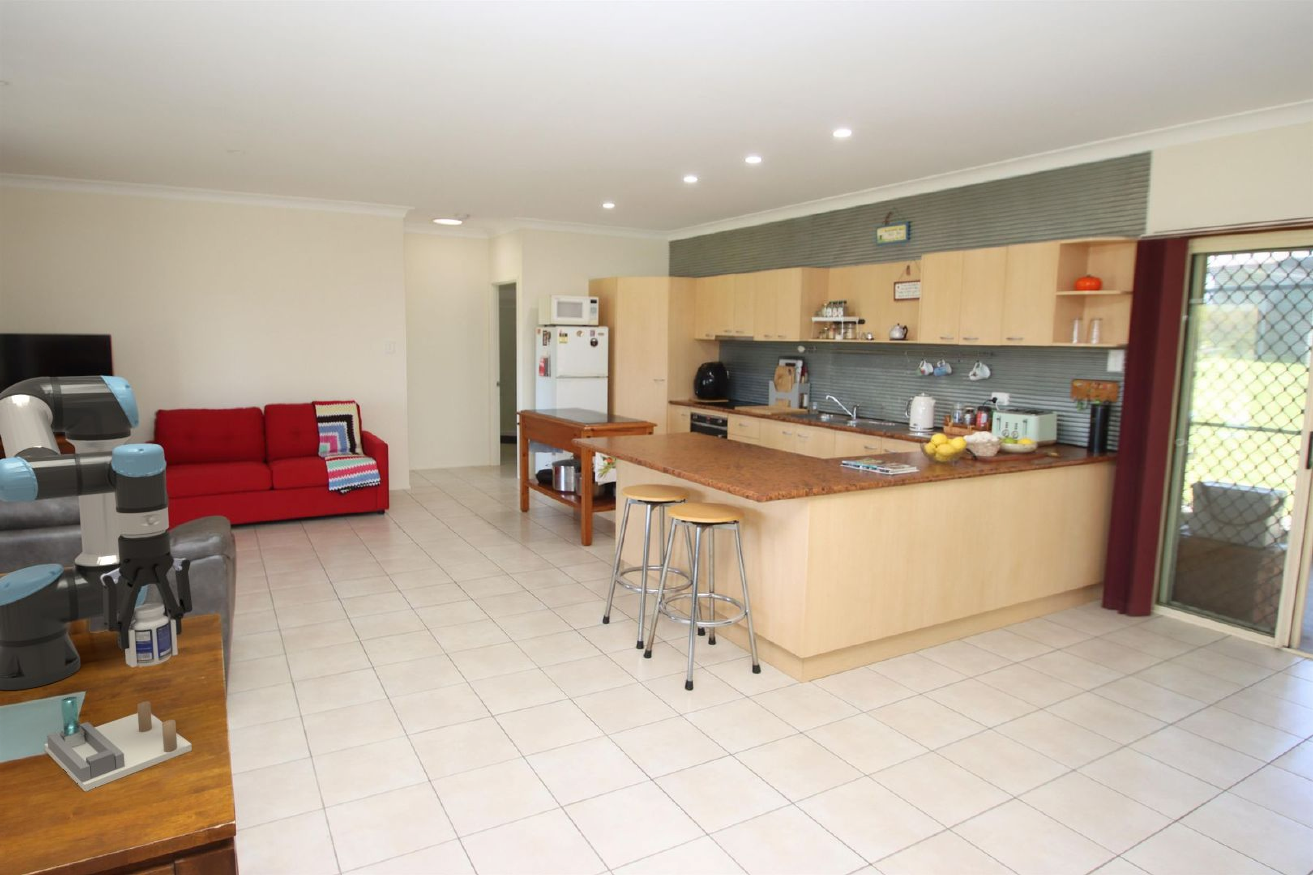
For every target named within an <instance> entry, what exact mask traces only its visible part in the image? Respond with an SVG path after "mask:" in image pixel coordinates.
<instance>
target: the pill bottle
mask: <svg viewBox="0 0 1313 875" xmlns="http://www.w3.org/2000/svg"><path fill="white" fill-rule="evenodd" d="M165 608H166V606H165V604H164V602H150V603H149V602H148V603H145V604H144V603H143V604H142V605H140V606H138V607H135V609H134V613H133V616H132V618H133V617H134V620H133V621H131V624H130V628H131V629H133V630H135V644H136V658H137V667H150V666H155V665H158V664H159V665H160V664H162V663H165V662H166V661H168V660H169V659H171V656H172V655H171V643H170V631H169V620H168V618H167V617H168V616H166V614H164V613H165V612H166V611H165Z"/></svg>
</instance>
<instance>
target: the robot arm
mask: <svg viewBox="0 0 1313 875" xmlns="http://www.w3.org/2000/svg"><path fill="white" fill-rule="evenodd" d="M139 426H140V415H139V409H138V404H137V401H136V398H135V394H134V391H133V389H132V387H131V385H130V383H129V381H128V380H127V379H126V378H124V377H121V376H111V375H84V376H83V375H82V376H80V375H79V376H39V377H32V378H28V379H24V380H22V381H19V382H16V383H14V384H13V385H10V386H9V387H7V388H5V389H4V390H3V391H1V393H0V437H1V442H2V446H3V449H4V454H5V455H4V456H5V458H2V459H0V501H2V502H4V503H18V502H24V503H29V502H36V501H43V500H51V499H61V498H68V497H69V498H70V497H78V504H79V505H78V506H79V519H80V521H79V522H80V533H81V547H82V548H81V549H82V551H81V553H80V554H79V555H78V556H77V557H75V558H74V567H73V568H68V569H64V567H63V565H62V564H59V563H47V564H46V563H45V564H36V565H32V566H28V567H25V568H21V569H18V570H15V571H12V572H9V573H8V574H5V575H4V576H2V577H0V690H3V691H15V690H17V691H18V690H26V689H31V688H32V689H33V688H37V687H41V686H45V685H49V684H54V683H56V682H58V681H61V680H64V679H66V678H68V677H70V676H71V675H73V674H76V672H78V671H79V670H80V668H81V656H80V654H79V653H78V650H77V649H76V647H75V645H74V643H73V641H72V640H71V637H70V636H69V633H68V632H69V631H68V623H73V622H80V621H84V620H89V619H94V618H99V617H103V628H104V629H106V630H108V631H109V632H111V633H113V632H117V644H118V647H119V648H120V649H121V650H123V651H124V650H125V651H124V653H125V663H126V664H125V665H128V666H130V667H131V668H135V667H138V665H137V658H136V644H135V630H133V629H131V628H130V625H131V623H132V620H133V613H134V609H135V607H138V606H140V605H144V602H145V601H146V598H147V593H148V592H147V591H148V586H149V585H155V586H156V588H157V591H158V592H159V594H160V595H159V596H160V597H161V599H162V601H163V604H164V607H165V608H166V610H167V614H169V616H167V618H168V620H169V631H170V643H171V656H177V655H179V654H178V638H177V637H178V636H179V635H181V634H182V631H183V629H182V626H183V625H182V619H183V618H184V615H185V614H187V613H191V612H192V611H193V601H192V595H191V594H192V593H191V585H190V577H189V570H190V567H191V561H190V560H189V559H187V558H185V557H179V558H174V556H173V555H172V553H171V538H170V537H171V535H170V532H169V531H168V528H170V525H169V524H170V522H169V509H168V507H169V506H168V493H167V476H166V474H167V472H166V471H167V470H166V467H167V460H165V451H164V448H163V447H162V446H161V445H160V444H156V443H131V444H125V443H126V442H127V441H128V440H129V439H130V438H132V432H131V431H132V430H131V429H133V430H134V429H136V428H138V427H139ZM53 432H54V433H57V432H59V433H61V432H63V433H64V435H65V440H66V442H68V443H70V444H72V446H74V449H75V453H64V454H61V451H60V448H59V445H58V442H57V440H56V437H55V435H54V433H53ZM172 567H173V569H174V571H175V581H176V588H177V590H176V591H177V597H178V602H177V599H176V598H175V595H174V594H173V591H172V589H171V586H170V582H169V580H168V576H167V574H168V572H169V571H170V569H171V568H172Z"/></svg>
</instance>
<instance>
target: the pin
mask: <svg viewBox="0 0 1313 875" xmlns="http://www.w3.org/2000/svg"><path fill="white" fill-rule="evenodd" d="M60 705H61V716H62V726H63V727H62V729H63V730H62V731H59V732H58V733H59V734H58V735H59V736H60V737H61V738H62V739H63V740H64V741H65V742H66V743H67V744H68V745H69V746H70V747H71V748H74V747H77V746H79V745H82V744H85V739H84V731H83V730H82V729H81V728H80V721H79V708H78V707H79V706H78V698H77V696H69V697H66V698H63V699H61V701H60Z"/></svg>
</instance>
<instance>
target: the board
mask: <svg viewBox="0 0 1313 875" xmlns="http://www.w3.org/2000/svg"><path fill="white" fill-rule="evenodd" d="M136 706H137V713H133V714H130V715H128V716H124V717H122V718H119V719H115V720H113V721H110V722H106V723H104V724H100V725H98V726H95V727H94V726H93V724H91V723H90V722H88V721H85V722H83V723H79V727H80V728H81V729H82V730H83V731H84V739H85V744H82V745H79V746H77V747H74V748H71V747H70V746H69V745H68V744H67V743H66V742H65V741H64V740H63V739H62V738H61V737H60V734H58V733H57V732H52V733H50V734H46V737H47V742H46V743H44V751H45V752H46V753H47V754H48V755H49V756H50V757H51V758H52V759H53V760H54V761H55V762H56V764H57V765H59V767H60V768H61V769H62V770H63V769H64V770H65V771H66V772H67V773H66V772H65V771H64V770H63V771H64V772H65V773H66V774H67V775H68V776H69V777H70V778H71V779H72V780H73V781H74V783H76V784H77V783H78V784H77V786H79V787H80V788H81V789H82V790H83V791H84V792H88V791H91V790H93V789H96V788H99V787H101V786H103V785H106V784H108V783H111V782H114V781H116V780H119V779H122V778H123V777H127V776H130V775H131V774H134V773H137V772H140V771H143V770H145V769H147V768H149V767H152V766H154V765H157V764H160V763H162V762H165V761H168V760H172V759H173V758H176V757H178V756H180V755H183V754H185V753H188V752H191V751H193V750H192V749H193V747H192V743H191V742H189V741H188V740H187V739H186V738H184V737H183V736H181V734H178V732H177V723H176V720H175V719H168V720H165V721H161V720H160V719H159V718H158V717H157V716H155V715H154V714H152V711H151V710H152V708H151V701H142V702H138V703H137V704H136ZM95 787H96V788H95Z"/></svg>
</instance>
